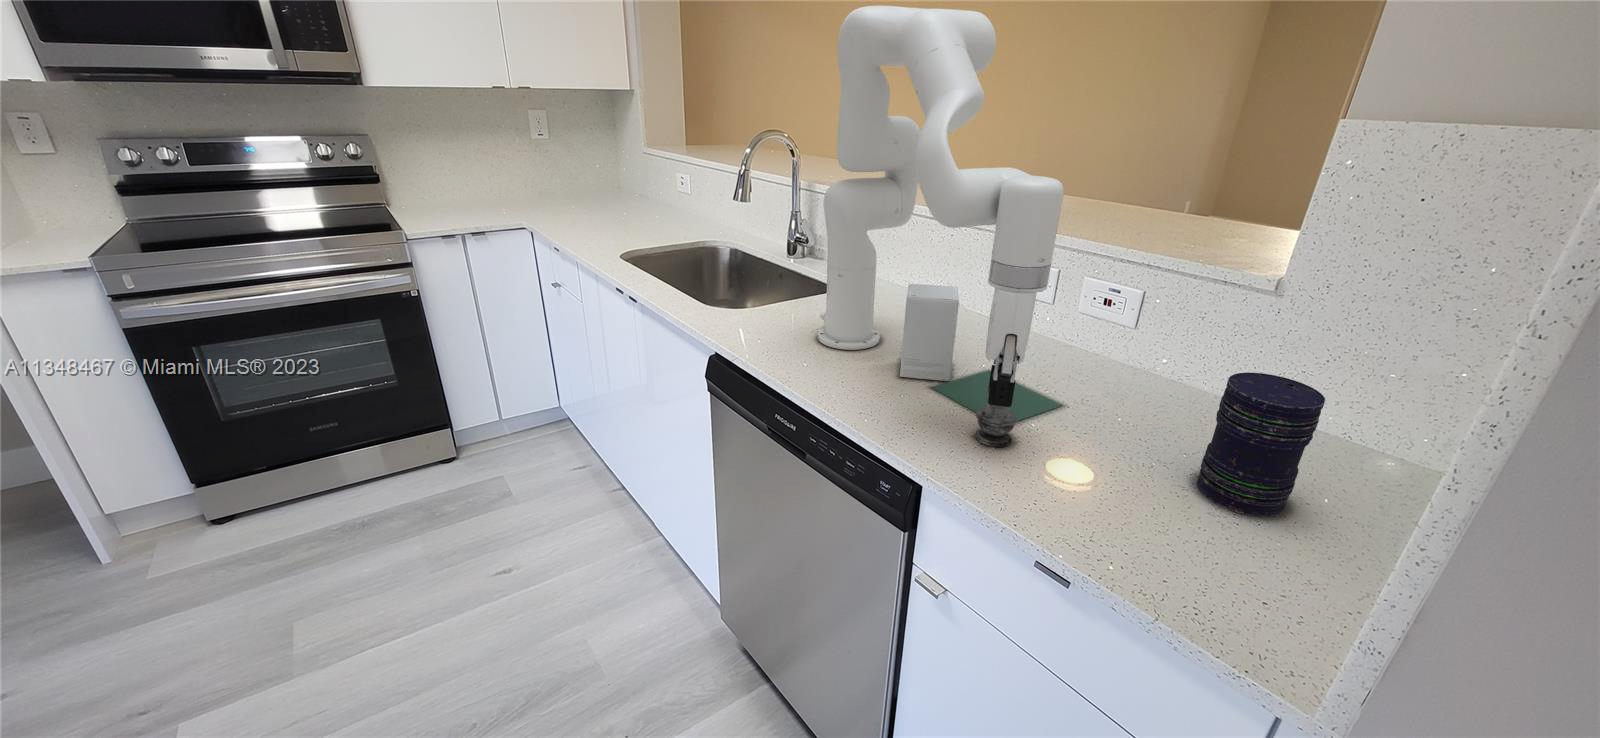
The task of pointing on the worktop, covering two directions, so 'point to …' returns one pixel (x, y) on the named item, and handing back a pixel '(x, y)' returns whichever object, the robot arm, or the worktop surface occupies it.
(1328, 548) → the worktop surface
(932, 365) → the white product box
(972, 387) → the mat
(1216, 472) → the storage jar
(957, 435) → the worktop surface
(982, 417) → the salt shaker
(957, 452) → the worktop surface
